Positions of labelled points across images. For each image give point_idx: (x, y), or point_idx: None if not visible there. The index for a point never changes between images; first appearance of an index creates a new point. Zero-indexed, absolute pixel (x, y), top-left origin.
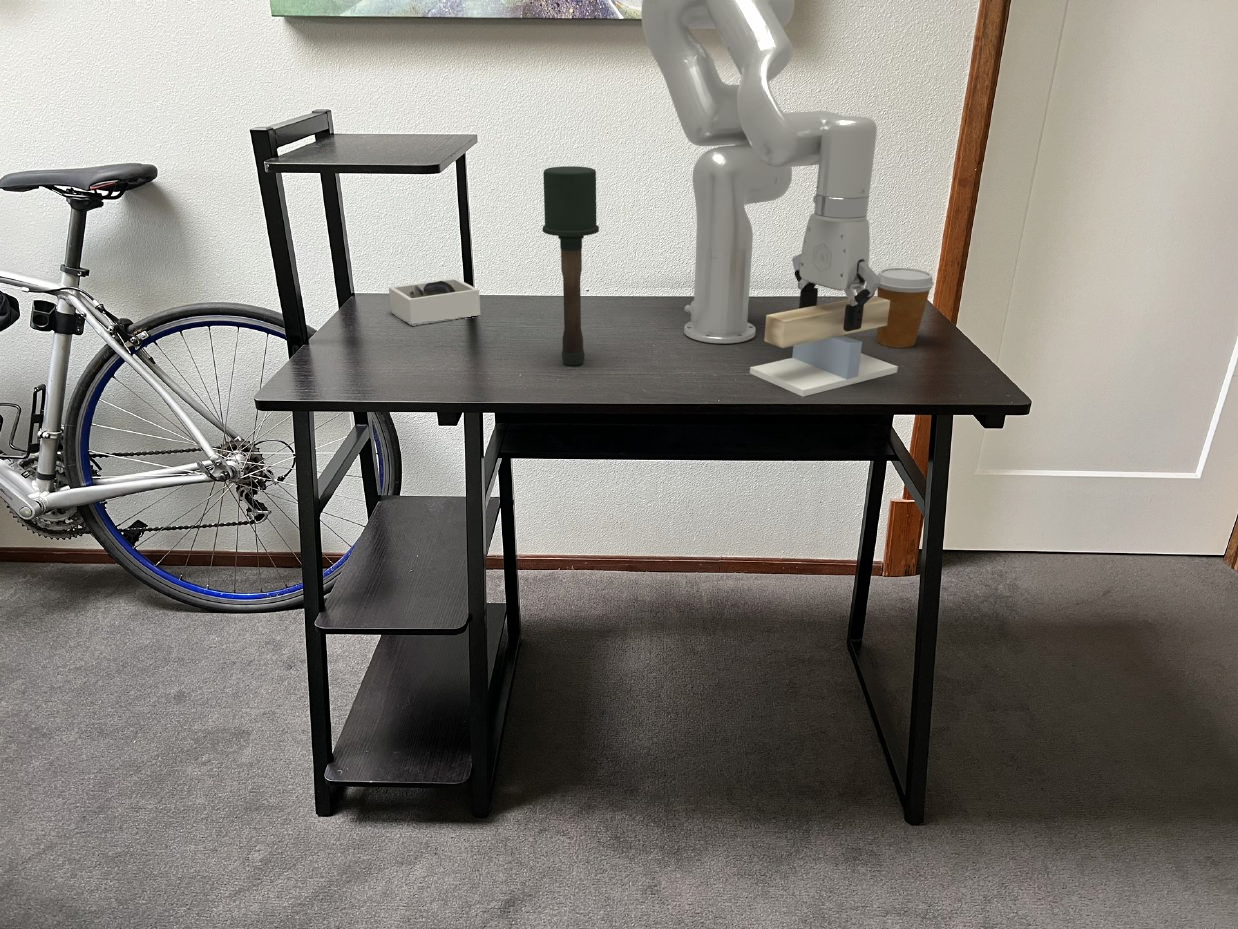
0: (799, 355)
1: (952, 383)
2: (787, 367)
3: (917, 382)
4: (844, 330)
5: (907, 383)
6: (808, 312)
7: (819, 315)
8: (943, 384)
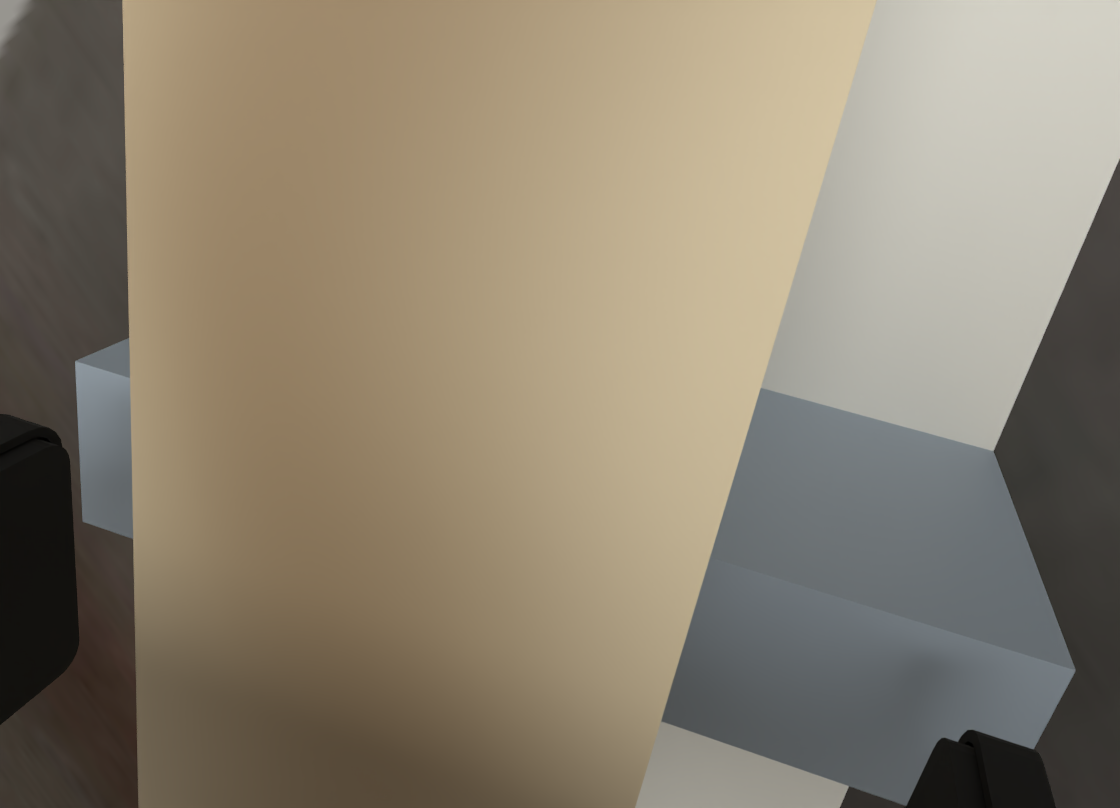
0: (894, 444)
1: (31, 700)
2: (870, 157)
3: (127, 612)
4: (50, 431)
5: None
6: (384, 296)
7: (143, 307)
8: None
